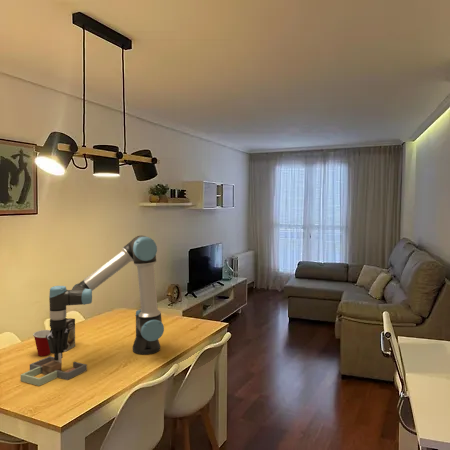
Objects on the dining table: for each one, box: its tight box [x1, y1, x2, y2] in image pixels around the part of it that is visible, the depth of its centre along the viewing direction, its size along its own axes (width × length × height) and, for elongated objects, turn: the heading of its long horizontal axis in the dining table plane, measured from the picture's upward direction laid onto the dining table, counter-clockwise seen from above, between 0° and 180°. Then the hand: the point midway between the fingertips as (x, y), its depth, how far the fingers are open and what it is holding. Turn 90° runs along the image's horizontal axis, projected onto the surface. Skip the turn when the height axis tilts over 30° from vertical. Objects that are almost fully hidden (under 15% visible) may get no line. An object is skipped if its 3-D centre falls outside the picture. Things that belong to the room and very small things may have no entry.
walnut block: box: [41, 361, 63, 376], centre depth 190 cm, size 6×6×4 cm
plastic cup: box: [32, 329, 53, 357], centre depth 213 cm, size 11×11×12 cm
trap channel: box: [20, 355, 88, 387], centre depth 188 cm, size 25×22×3 cm
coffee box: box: [64, 317, 76, 353], centre depth 223 cm, size 9×6×16 cm
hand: (58, 366), depth 193 cm, fingers closed
